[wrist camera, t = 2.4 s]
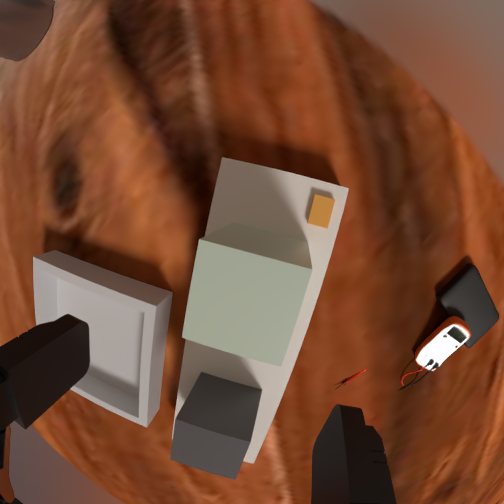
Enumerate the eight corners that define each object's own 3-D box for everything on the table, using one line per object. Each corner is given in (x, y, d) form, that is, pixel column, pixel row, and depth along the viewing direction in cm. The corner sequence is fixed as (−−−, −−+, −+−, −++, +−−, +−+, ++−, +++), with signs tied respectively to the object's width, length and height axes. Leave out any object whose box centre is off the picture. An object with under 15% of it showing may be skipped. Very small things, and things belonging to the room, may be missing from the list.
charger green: (239, 218, 24) (199, 239, 14) (306, 236, 23) (312, 269, 14) (225, 282, 25) (181, 337, 15) (288, 300, 25) (281, 366, 15)
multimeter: (372, 432, 28) (377, 453, 25) (318, 367, 27) (320, 387, 24) (501, 341, 24) (516, 355, 20) (470, 256, 23) (489, 265, 20)
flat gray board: (232, 161, 24) (220, 156, 20) (341, 188, 23) (350, 188, 19) (182, 419, 30) (170, 442, 26) (257, 441, 30) (252, 467, 26)
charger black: (209, 357, 27) (175, 418, 18) (265, 373, 26) (250, 442, 18) (200, 398, 28) (170, 459, 19) (252, 413, 28) (235, 479, 19)
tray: (55, 249, 29) (33, 256, 25) (173, 292, 27) (156, 306, 24) (59, 359, 32) (43, 372, 29) (159, 408, 31) (147, 427, 27)
